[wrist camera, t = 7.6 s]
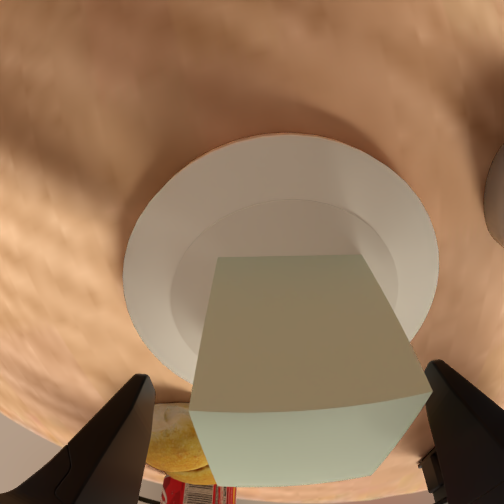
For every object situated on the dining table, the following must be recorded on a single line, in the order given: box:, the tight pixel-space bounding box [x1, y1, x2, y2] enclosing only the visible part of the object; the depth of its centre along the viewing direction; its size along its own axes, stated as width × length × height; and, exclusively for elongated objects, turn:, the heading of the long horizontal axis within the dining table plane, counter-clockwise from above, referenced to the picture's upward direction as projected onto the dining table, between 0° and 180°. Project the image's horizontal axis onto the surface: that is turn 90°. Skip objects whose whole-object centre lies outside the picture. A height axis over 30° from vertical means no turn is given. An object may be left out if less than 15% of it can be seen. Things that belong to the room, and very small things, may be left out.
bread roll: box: [146, 403, 217, 485], centre depth 17 cm, size 8×9×4 cm
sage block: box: [188, 254, 433, 487], centre depth 9 cm, size 5×5×6 cm
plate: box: [123, 132, 439, 385], centre depth 12 cm, size 13×13×1 cm
